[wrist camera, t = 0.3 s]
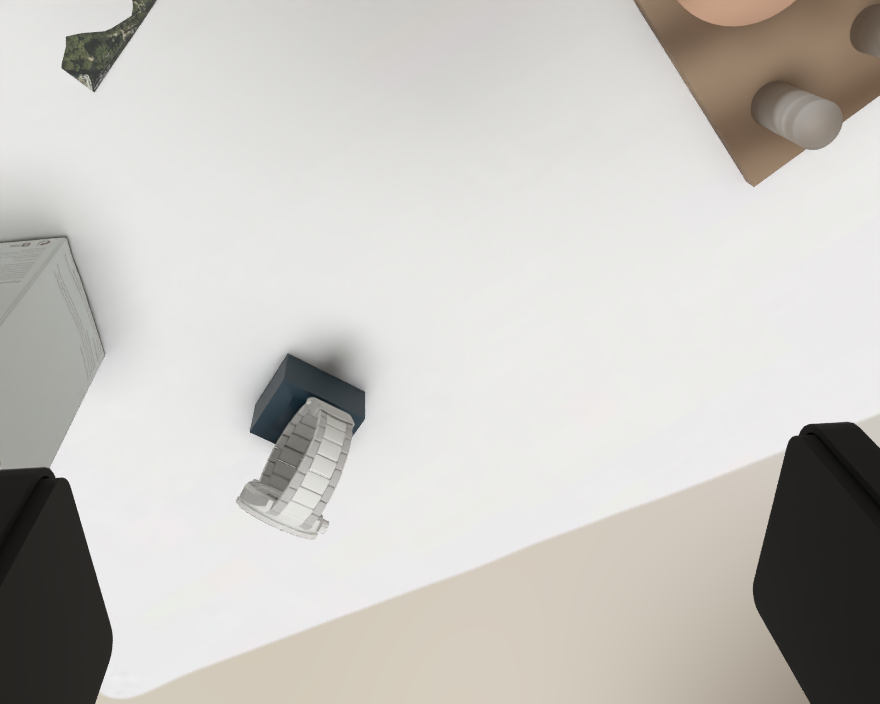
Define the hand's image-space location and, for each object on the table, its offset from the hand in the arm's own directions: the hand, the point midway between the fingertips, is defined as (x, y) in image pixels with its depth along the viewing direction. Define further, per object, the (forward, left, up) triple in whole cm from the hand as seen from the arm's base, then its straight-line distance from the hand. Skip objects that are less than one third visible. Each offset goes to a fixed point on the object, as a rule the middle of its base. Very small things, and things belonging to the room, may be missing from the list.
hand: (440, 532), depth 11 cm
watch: (+12, -17, -36) cm, 42 cm away
